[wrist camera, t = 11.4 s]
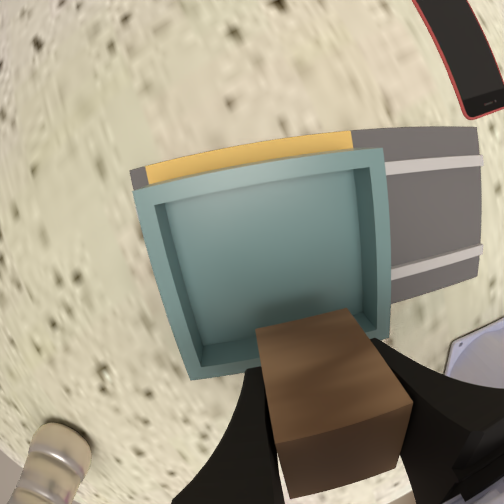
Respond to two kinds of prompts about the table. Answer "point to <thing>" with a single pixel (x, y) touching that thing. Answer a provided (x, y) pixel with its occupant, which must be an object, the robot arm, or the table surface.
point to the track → (390, 194)
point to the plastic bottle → (53, 466)
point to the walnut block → (330, 402)
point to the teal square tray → (268, 251)
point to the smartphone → (464, 55)
